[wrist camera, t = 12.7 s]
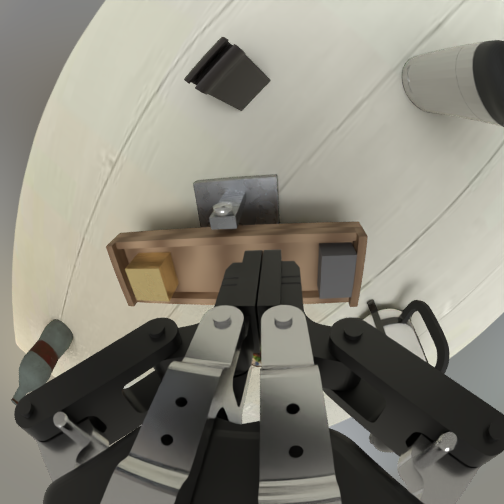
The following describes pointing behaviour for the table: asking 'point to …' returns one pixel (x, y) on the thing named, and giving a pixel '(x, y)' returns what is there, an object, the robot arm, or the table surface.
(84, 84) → the table surface
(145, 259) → the brass block
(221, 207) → the pivot stand
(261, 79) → the phone stand
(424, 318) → the coffee press
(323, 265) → the block
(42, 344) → the bottle
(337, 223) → the beam
